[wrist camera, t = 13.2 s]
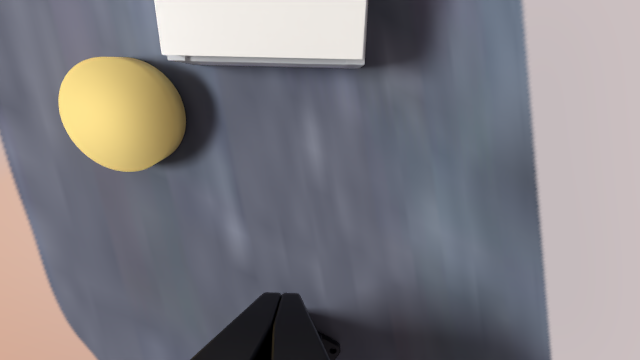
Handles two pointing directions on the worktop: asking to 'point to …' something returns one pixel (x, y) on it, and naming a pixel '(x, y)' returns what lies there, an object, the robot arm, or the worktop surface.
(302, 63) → the grey frame
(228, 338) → the robot arm
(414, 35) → the worktop surface
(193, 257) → the worktop surface
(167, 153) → the yellow rounded disc
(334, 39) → the lid
